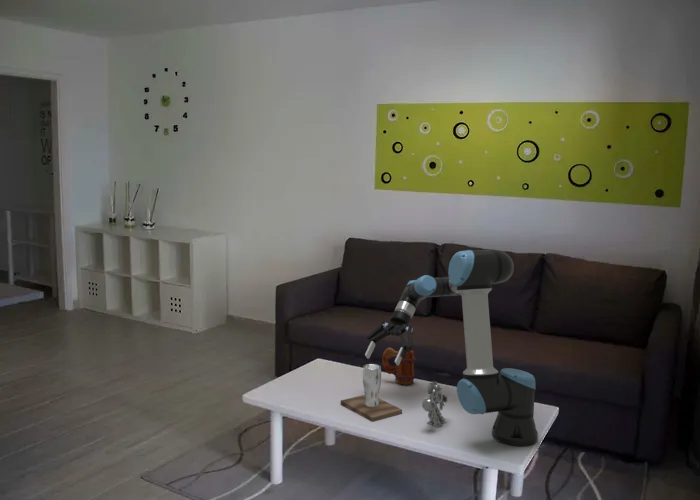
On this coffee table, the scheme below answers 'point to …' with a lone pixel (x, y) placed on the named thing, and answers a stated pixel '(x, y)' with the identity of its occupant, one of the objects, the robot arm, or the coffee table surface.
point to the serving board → (371, 413)
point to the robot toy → (434, 404)
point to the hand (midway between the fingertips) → (381, 360)
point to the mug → (400, 366)
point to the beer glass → (371, 385)
